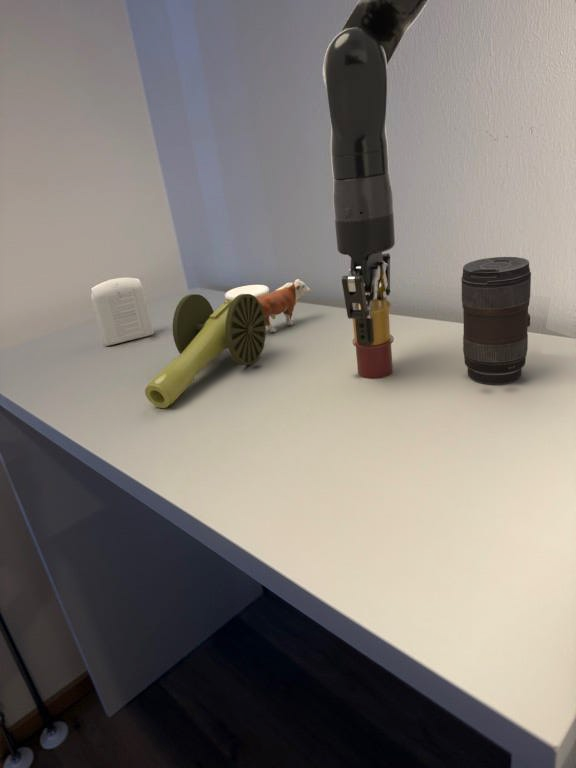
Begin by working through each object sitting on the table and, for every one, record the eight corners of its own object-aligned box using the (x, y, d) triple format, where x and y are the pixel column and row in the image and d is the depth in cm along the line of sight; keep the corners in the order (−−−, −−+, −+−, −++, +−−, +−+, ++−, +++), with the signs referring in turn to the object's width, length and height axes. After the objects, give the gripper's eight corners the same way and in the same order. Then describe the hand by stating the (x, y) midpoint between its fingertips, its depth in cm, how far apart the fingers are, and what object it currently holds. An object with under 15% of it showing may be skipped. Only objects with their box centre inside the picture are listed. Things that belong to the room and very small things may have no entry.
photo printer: (152, 330, 114) (137, 272, 109) (156, 335, 110) (142, 275, 105) (102, 343, 110) (85, 283, 105) (105, 348, 106) (88, 287, 101)
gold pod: (380, 329, 80) (378, 296, 78) (400, 340, 75) (399, 305, 73) (345, 338, 78) (341, 305, 76) (363, 350, 73) (360, 314, 71)
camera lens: (473, 360, 78) (473, 255, 72) (533, 366, 73) (539, 255, 67) (453, 382, 72) (451, 271, 66) (517, 391, 67) (521, 272, 61)
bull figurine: (316, 318, 105) (312, 277, 102) (258, 338, 99) (251, 295, 96) (303, 315, 109) (298, 275, 106) (246, 334, 103) (239, 292, 99)
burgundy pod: (383, 360, 82) (381, 329, 80) (403, 373, 77) (401, 340, 75) (348, 370, 80) (345, 338, 78) (366, 383, 75) (364, 349, 73)
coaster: (253, 313, 115) (251, 297, 113) (218, 311, 120) (215, 295, 119) (279, 299, 122) (277, 284, 121) (245, 298, 128) (242, 283, 126)
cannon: (192, 414, 74) (174, 336, 69) (126, 407, 79) (105, 333, 74) (275, 347, 93) (266, 283, 89) (218, 345, 99) (206, 284, 94)
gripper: (375, 220, 62) (384, 356, 69) (406, 202, 74) (410, 320, 81) (315, 225, 65) (329, 354, 72) (353, 206, 77) (362, 319, 84)
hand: (372, 335), depth 76 cm, fingers closed on gold pod, 5 cm apart
